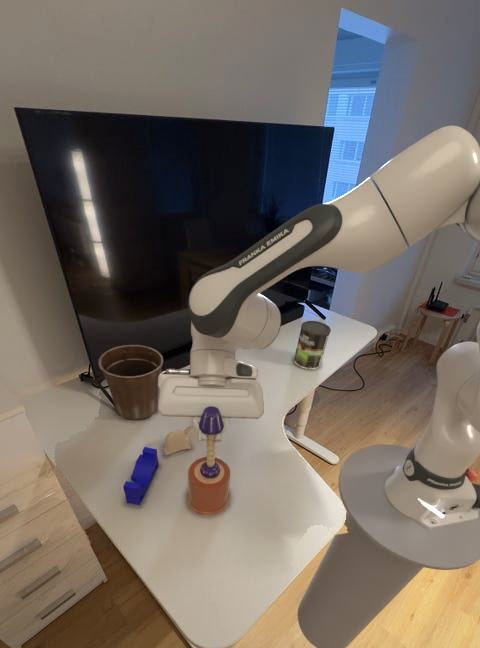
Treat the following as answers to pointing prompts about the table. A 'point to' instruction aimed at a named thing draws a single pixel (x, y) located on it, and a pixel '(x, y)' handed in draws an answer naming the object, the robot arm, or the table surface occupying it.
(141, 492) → the blue notched block
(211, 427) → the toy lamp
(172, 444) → the decorative ornament
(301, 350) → the coffee can
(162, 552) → the table surface
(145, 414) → the plant pot
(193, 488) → the cup
